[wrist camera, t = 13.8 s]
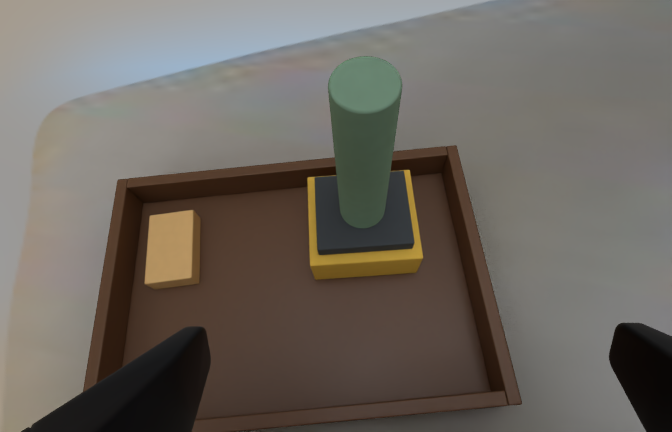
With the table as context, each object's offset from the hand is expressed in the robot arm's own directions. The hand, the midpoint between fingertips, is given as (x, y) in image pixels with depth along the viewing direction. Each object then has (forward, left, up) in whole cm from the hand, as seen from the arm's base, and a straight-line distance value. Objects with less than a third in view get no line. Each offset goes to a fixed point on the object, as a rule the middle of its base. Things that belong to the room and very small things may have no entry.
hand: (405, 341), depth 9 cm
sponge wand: (+5, +5, -12) cm, 14 cm away
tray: (+1, +6, -12) cm, 14 cm away
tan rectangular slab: (-2, +13, -12) cm, 17 cm away
